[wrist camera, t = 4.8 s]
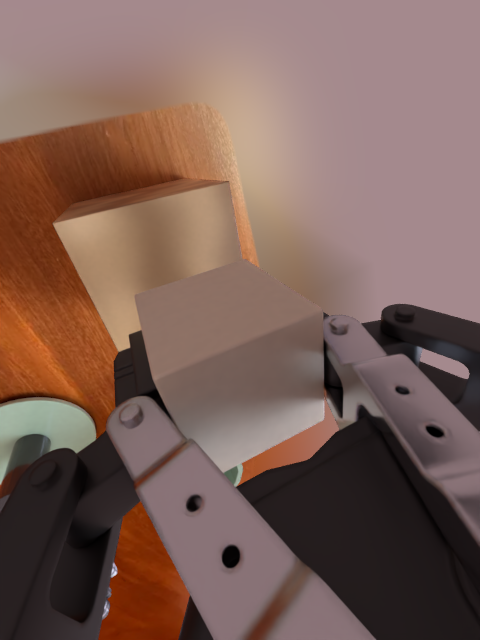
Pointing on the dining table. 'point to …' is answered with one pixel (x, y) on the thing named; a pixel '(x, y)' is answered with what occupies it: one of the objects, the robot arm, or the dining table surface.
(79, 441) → the lid
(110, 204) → the stand
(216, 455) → the block
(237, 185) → the dining table surface
